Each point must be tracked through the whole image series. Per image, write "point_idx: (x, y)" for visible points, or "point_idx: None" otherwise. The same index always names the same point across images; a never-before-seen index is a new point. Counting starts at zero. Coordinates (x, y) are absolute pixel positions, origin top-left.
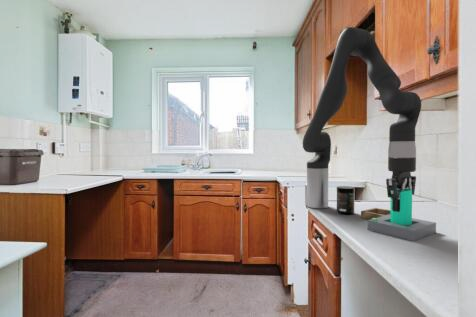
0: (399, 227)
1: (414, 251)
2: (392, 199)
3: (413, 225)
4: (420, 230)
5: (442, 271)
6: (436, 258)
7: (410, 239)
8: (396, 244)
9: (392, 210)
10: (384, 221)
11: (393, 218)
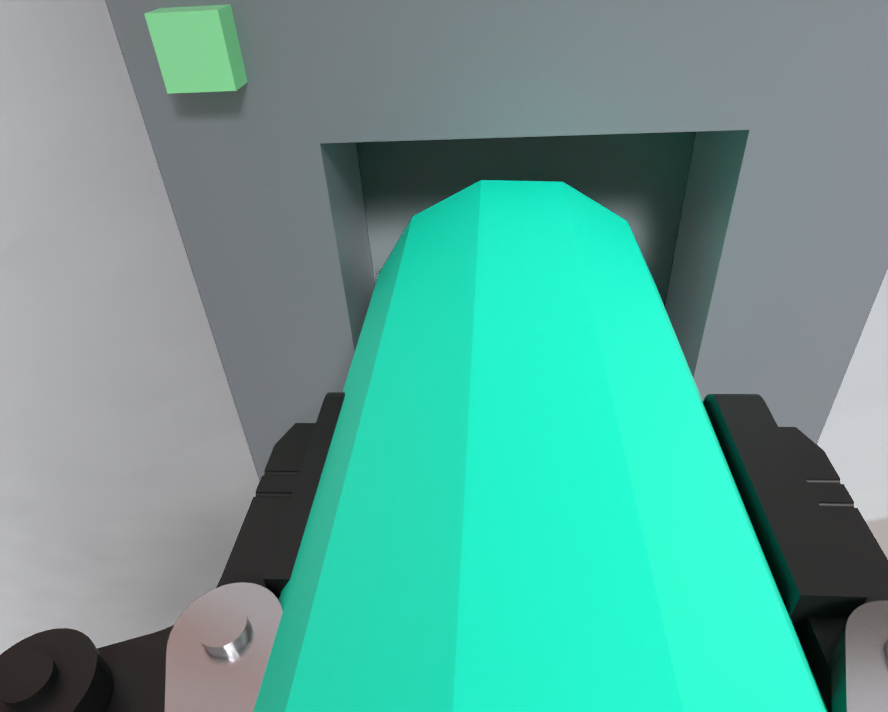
0: (241, 417)
1: (105, 520)
2: (211, 599)
3: None
4: None
5: None
6: (135, 600)
7: None
8: (92, 412)
9: (351, 376)
10: (311, 181)
11: (365, 319)
